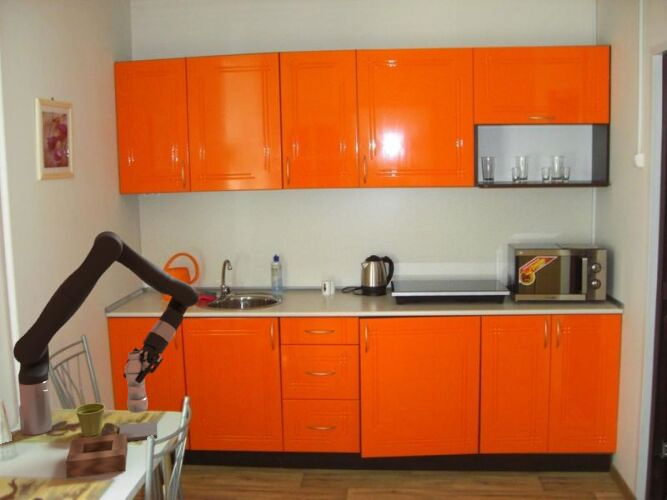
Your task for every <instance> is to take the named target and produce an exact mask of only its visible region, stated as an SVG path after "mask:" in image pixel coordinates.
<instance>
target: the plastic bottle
mask: <svg viewBox="0 0 667 500" xmlns="http://www.w3.org/2000/svg"><path fill="white" fill-rule="evenodd" d="M127 357H128V358H127V360H128V359H129V362H128V363H126V365H125V367H124V373H125V374H126V378H127V379H126V378H125V379H126V382H127V402H126V406H127V409H128V411H129V412H130V413H132V414H139V413H143V412H145V411H147V409H148V407H149V402H148V397H147V393H146V384H145V383H146V382H145V381H146V380H145V379H146V377H145V378H144V380H143V381H142V382H141V383H138V382H136V381H135V379H136V377H137V376H138V374H139V373H140V371H141V370H142V368H143V362H142V361H141V360H140V358H141V356H140V352H138V351H134V352H133V351H130V352H128V356H127ZM142 371H143V370H142Z"/></svg>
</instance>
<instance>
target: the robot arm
mask: <svg viewBox="0 0 667 500" xmlns="http://www.w3.org/2000/svg"><path fill="white" fill-rule="evenodd" d="M115 262H117V263H118V264H121V265H122V266H124V267H125V268H127V269H129V270H130V271H131V272H132V273H133V274H134V275H136V277H137V278H139V279H140V280H141V281H142V282H143V283H144V284H146V285H148V286H149V287H150V288H152V289H153V290H155V291H157V292H158V293H160V294H162V295H165V296H169V297H170V300H169V302H168V304H167V306H166V309H165V310H164V311H163V313H162V314H161V316H160V317H159V319H158V320H157V322H155V323H154V325H153V326H152V328H151V329H150V330H149V332H148V334H147V335H146V337H145V338H144V340H142V344H143V346H142V347H141V348H140V349H138V348H137V347H134V349H133V350H132V352H134V351H138V352H140V356H141V358H140V360H141V361H142V362H143V368H142V370H143V371H142V370H141V371H140V373H139V374H138V376H137V377H136V379H135V381H136V382H138V383H141V382H142V381H143V380H144V378H145V379H146V377H147V375H149V374H154V373H155V371H156V370H157V368H159V366H160V365H161V363H162V362H163V360H164V357H162V356H161V355H162V354H164V352H165V350H166V349H167V347H168V345H169V344H171V343H170V342H171V341H172V340H173V338H174V336H175V334H176V332H177V331H178V329H179V327H180V326H181V324H182V323H183V321H184V315H185V313H186V312H187V310H188V308H190V307H193V306H195V305H197V304H198V301H199V299H200V294H199V291H198V290H197V289H196V288H195V287H194V286H193V285H191V284H188V283H186V282H185V281H182V280H181V279H178V278H176V277H174V276H173V275H171V274H170V273H169V272H167V271H166V270H164V269H162V268H161V267H159V266H158V265H156V264H154V263H153V262H152V261H150V260H149V259H147V258H145V257H144V256H142V255H141V254H140V253H139V252H137V251H136V250H135V249H133V248H132V246H130V245H129V244H127V242H126V241H125V240H124V239H122V238H121V237H120V236H119V235H118V234H117V233H116V232H113V231H110V230H109V231H108V230H105V231H102V232H100V233H98V234H97V235H96V236H95V238H94V241H93V245H92V247H91V249H90V251H89V252H88V253H87V255H86V257H85V259H84V260H83V261H82V263H81V264H80V265H79V266H78V268H76V269H75V270H74V271H73V272H72V273H70V274H69V275H68V276H67V277H66V278H65V280H63V282H62V283H61V284H60V285H59V286H58V288H57V289H56V290H55V292H54V293H53V294H52V296H51V297H50V299H49V300H48V302H47V303H46V304H45V306H44V308H43V309H42V311H41V312H40V314H39V316H38V317H37V319H36V321H35V322H34V323H33V324H32V326H31V327H29V329H28V330H27V331H26V332H25V333H24V334H23V335H22V336H21V337H20V338H18V340H16V342H15V343H14V346H13V350H12V352H13V356H14V357H13V358H14V359H15V361H16V362H18V363H19V371H18V375H17V376H18V377H17V379H18V380H17V381H18V390H19V391H18V393H19V404H20V405H19V407H18V414H19V424H20V427H19V428H20V435H26V436H35V435H42V434H45V433H48V432H50V431H51V430H52V429H53V420H52V407H51V406H52V405H51V392H50V381H49V380H50V379H49V377H50V376H49V371H50V348H49V344H50V342H51V341H52V339H54V337H55V335H56V334H57V333H58V331H60V330H61V329H62V328H63V327H64V326H65V325H66V324H67V322H69V321H70V320H71V318H73V316H74V315H75V314H76V313H77V311H78V310H79V309H80V308H81V306H82V305H83V304H84V303H85V301H86V300H87V298H88V297H89V295H91V292H92V291H93V289H94V288H95V286H96V285H97V283H98V281H99V280H100V279H101V277H102V276H103V275H104V274H105V273H106V272H107V270H108V269H109V268H110V267H111V266H112V265H113V264H114V263H115ZM128 362H129V359H128V358H127V360H126V364H127V363H128ZM122 376H123V378H125V380H127V378H126V374H125V372H124V373H123V375H122Z"/></svg>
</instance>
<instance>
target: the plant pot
mask: <svg viewBox="0 0 667 500" xmlns="http://www.w3.org/2000/svg"><path fill="white" fill-rule="evenodd" d="M105 409H106V405H105V404H103V403H98V402H97V403H96V402H95V403H94V402H93V403H86V404H82V405H80V406H77V407H76V408H75V410H74V412H75V414H76V416H77V418H78V423H79V426H80V431H81V435H82V436H84V437H95V435H96V436H97V435H100V434H101V433H102V431H103V430H102V427H103V418H104V413H105V412H104V411H105Z"/></svg>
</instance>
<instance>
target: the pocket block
mask: <svg viewBox="0 0 667 500" xmlns="http://www.w3.org/2000/svg"><path fill="white" fill-rule="evenodd" d="M128 451H129V449H128V441H127V433H125V434H119V433H117V434H108V435H99V436H91V437H90V436H88V437H81V438H72V439H71V443H70V446H69V449H68V453H67V456H66V460H65V469H66V470H65V472H66V479H72V478H80V477H88V476H95V475H96V476H97V475H103V474H111V473H112V474H113V473H118V472H119V473H120V472H121V473H122V472H126V469H127V458H128Z"/></svg>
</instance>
